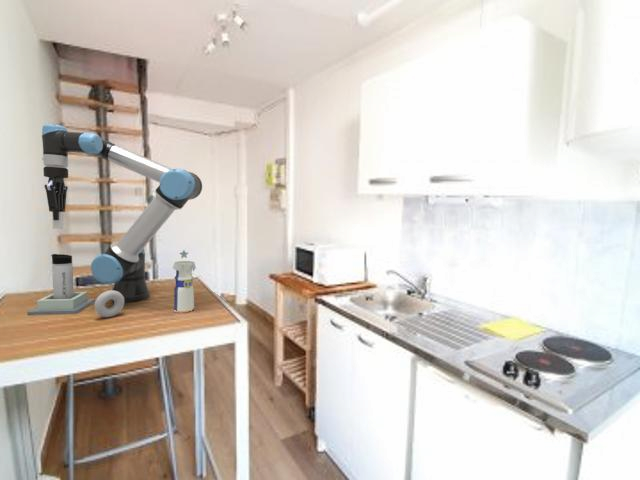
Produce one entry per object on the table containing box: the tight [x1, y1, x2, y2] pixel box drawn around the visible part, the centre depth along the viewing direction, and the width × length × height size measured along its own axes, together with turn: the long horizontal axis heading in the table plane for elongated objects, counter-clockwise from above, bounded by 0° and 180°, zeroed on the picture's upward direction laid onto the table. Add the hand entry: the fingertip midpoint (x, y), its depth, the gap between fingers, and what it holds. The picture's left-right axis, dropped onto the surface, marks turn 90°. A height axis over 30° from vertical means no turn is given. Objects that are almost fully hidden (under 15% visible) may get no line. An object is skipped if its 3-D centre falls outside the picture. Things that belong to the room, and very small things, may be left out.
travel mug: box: [50, 253, 74, 299], centre depth 133 cm, size 6×7×20 cm
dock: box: [27, 291, 96, 316], centre depth 134 cm, size 16×16×5 cm
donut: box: [93, 289, 126, 318], centre depth 125 cm, size 10×4×10 cm, turn 143°
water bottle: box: [172, 249, 196, 311], centre depth 136 cm, size 8×8×25 cm
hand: (58, 228), depth 133 cm, fingers closed
